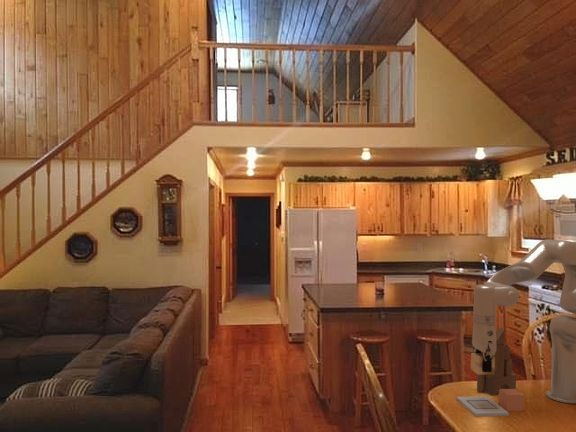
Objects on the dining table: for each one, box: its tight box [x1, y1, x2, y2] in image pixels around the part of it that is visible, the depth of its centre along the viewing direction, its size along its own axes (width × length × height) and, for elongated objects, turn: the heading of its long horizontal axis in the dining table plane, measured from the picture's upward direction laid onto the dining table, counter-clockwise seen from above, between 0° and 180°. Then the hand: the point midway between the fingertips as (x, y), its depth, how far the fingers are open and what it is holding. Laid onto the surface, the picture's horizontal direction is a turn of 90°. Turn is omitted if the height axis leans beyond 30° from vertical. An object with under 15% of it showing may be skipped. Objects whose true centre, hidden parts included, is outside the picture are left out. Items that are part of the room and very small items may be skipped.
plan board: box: [456, 395, 510, 417], centre depth 188 cm, size 12×16×1 cm
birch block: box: [470, 352, 495, 375], centre depth 188 cm, size 6×6×6 cm
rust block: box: [498, 388, 525, 412], centre depth 188 cm, size 6×6×6 cm
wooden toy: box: [476, 327, 517, 396], centre depth 206 cm, size 16×7×25 cm, turn 118°
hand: (482, 368), depth 188 cm, fingers closed on birch block, 6 cm apart
